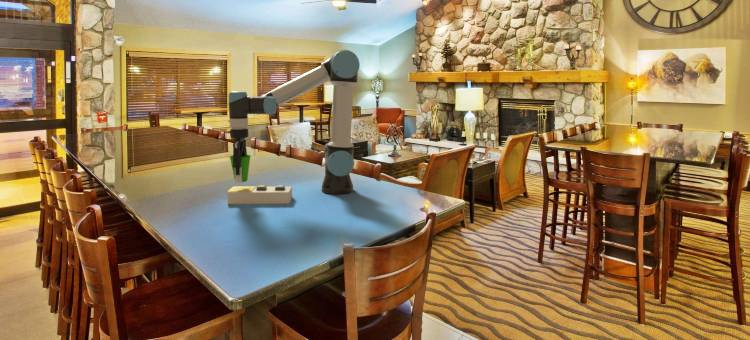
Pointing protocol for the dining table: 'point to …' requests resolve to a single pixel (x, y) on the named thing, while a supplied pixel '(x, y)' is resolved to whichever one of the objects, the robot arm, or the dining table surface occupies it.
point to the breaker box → (258, 195)
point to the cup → (242, 166)
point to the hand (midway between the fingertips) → (241, 180)
